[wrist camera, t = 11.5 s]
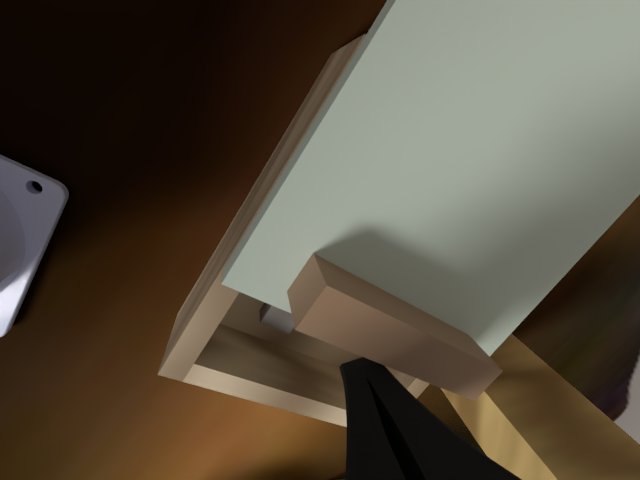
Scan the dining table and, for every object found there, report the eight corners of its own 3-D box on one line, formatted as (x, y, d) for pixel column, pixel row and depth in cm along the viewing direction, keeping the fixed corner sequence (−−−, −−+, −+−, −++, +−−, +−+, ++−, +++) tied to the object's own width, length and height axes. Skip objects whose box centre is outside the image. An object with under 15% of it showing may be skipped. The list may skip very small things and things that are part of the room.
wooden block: (429, 371, 22) (558, 560, 13) (431, 326, 20) (580, 507, 11) (481, 357, 22) (639, 528, 13) (486, 312, 21) (672, 473, 12)
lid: (223, 269, 11) (215, 324, 8) (497, -181, 8) (634, -338, 5) (450, 368, 15) (493, 425, 13) (679, 113, 12) (801, 115, 10)
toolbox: (177, 313, 16) (157, 374, 12) (416, -90, 11) (493, -179, 8) (358, 378, 20) (382, 436, 17) (577, 108, 16) (673, 109, 12)
